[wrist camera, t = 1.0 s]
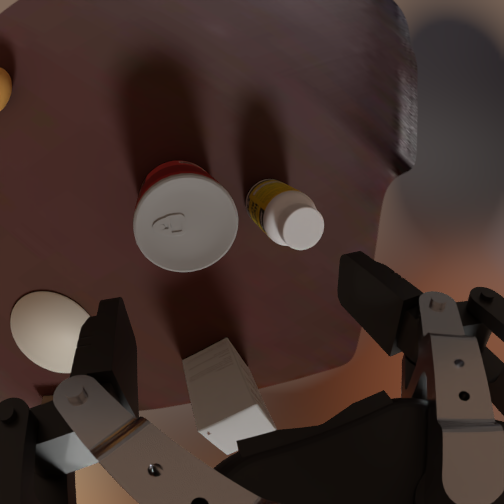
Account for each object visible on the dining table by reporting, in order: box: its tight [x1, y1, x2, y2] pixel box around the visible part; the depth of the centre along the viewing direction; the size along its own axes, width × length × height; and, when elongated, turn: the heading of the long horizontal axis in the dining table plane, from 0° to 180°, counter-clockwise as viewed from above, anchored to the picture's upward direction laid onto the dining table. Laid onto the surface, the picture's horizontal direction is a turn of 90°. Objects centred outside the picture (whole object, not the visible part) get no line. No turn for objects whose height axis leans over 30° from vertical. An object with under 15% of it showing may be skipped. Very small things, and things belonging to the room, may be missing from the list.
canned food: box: [133, 160, 238, 272], centre depth 28 cm, size 8×8×11 cm
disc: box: [10, 291, 90, 373], centre depth 34 cm, size 13×13×1 cm
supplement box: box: [182, 338, 277, 455], centre depth 37 cm, size 7×7×13 cm
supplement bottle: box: [246, 179, 324, 250], centre depth 32 cm, size 5×5×10 cm
